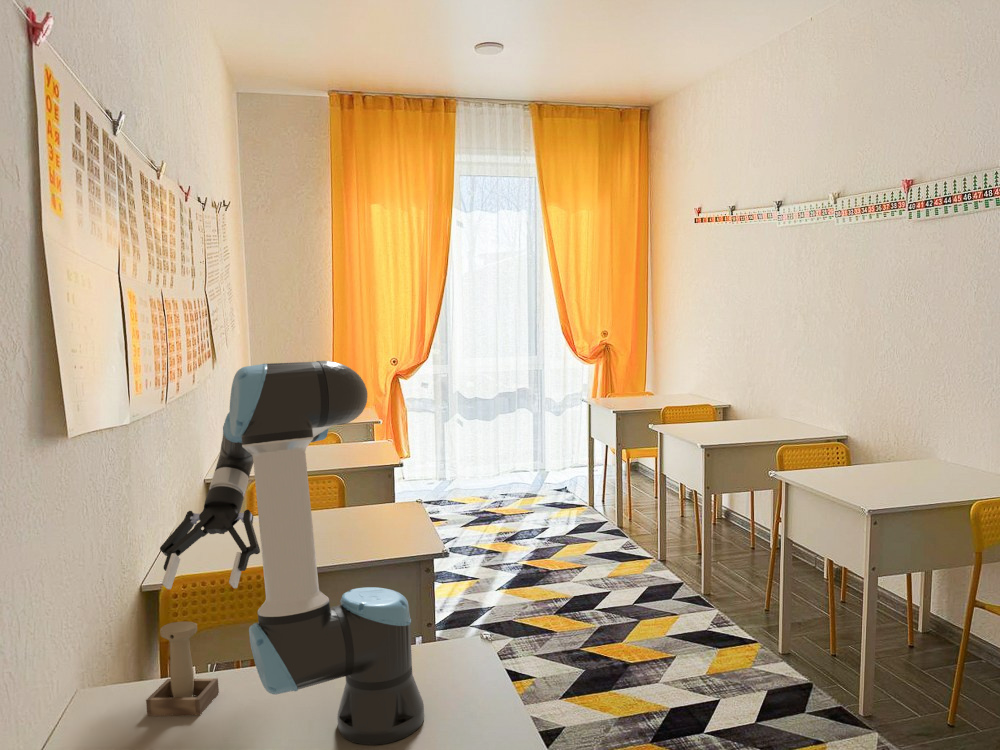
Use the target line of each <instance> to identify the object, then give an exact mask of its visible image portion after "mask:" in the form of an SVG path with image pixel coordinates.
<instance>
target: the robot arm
mask: <svg viewBox="0 0 1000 750" xmlns="http://www.w3.org/2000/svg"><path fill="white" fill-rule="evenodd" d="M229 398H230V399H229V412H228V413H227V414H226V417H225V419H224V423H223V426H222V439H221V440H222V441H221V444H220V445H221V446H220V452H219V456H218V460H217V463H216V466H215V469H214V471H213V475H212V478H211V482H210V484H209V489H208V492H207V494H206V498H205V501H204V503H203V509H202V511H201V513H195V512H193V511H192V510H188V511H187V512H186V514H185V516H184V519H183V520H182V521H181V523H179V524H178V526H177V527H176V528H175V529H174V531H172V533H171V534H170V535H169V536H168V538H167V539H166V540H165V541H164V542H163V544H161V545H160V547H159V550H160V552H161V553H163V555H164V556H165V557H166V558H165V562H164V565H163V570H164V571H165V572H164V576H163V579H162V582H161V585H162V586H163V587H165V588H166V590H171V589H172V587H173V585H174V584H173V583H174V581H175V577H176V574H177V571H178V568H179V565H180V562H181V558H180V557H179V556H181V555H182V554H183V553H184V552H185V551H187V550H188V549H189V548H190V547H191V546H193V545H195V543H196V542H197V541H198V540H200V539H201V538H203V537H206V536H207V535H208V534H209V535H215V534H219V535H224V534H225V533H227V532H229V535H231V537H232V539H233V540H234V542H235V543H236V544H237V546H238V548H239V549H240V551H237V552H236V553H235V558H234V561H233V565H232V569H231V573H230V577H229V581H228V583H229V585H230V586H231V587H232V588H233V589H238V586H239V583H240V579H241V575H242V572H244V571H246V570H247V567H248V563H249V559H250V557H251V556H252V555H259V554H260V553H261V558H262V569H263V578H264V589H265V590H264V591H265V601H264V602H263V604H261V606H260V607H259V608H258V610H257V620H258V621H257V622H254V623H253V624H251V625H250V626H249V627H248V633H249V644H250V648H251V652H252V657H253V660H254V664H255V667H256V670H257V674H258V677H259V679H260V682H261V684H262V686H263V687H264V688H263V689H264V690H265V691H266V692H267V693H268V694H271V695H281V694H284V693H290V692H298V691H299V690H301V689H304V688H308V687H309V688H310V687H313V686H316V685H319V684H324V683H326V682H330V681H333V680H337V679H341V678H344V677H345V685H344V688H343V689H344V690H343V692H342V697H341V700H340V704H339V707H338V710H337V729H338V732H339V733H340V735H341V736H342V737H343V738H344V739H346V740H347V741H349V742H352V743H356V744H360V745H371V746H372V745H384V744H390V743H393V742H396V741H400V740H402V739H405V738H407V737H409V736H410V735H412V734H413V733H414V732H416V731H417V730H418V729H420V727H421V726H422V725H423V722H424V719H425V705H424V700H423V697H422V695H421V692H420V689H419V688H418V685H417V682H416V680H415V677H414V675H413V660H412V659H413V658H412V656H413V655H412V633H411V632H412V631H411V623H412V618H411V615H410V605H409V602H408V600H407V598H406V597H405V596H404V595H403V594H401V593H400V592H399V591H397V590H393V589H389V588H385V587H384V588H383V587H378V586H377V587H375V586H374V587H373V586H372V587H371V586H367V587H356V588H352V589H349V590H348V591H346V592H344V593H343V594H342V595H341V599H340V604H339V605H334V606H331V605H330V598H329V597H328V596H327V595H325V593H323V592H322V591H321V590H320V586H319V577H318V575H319V574H318V568H317V567H318V566H317V556H316V547H315V546H316V545H315V537H314V535H315V534H314V527H313V526H314V525H313V516H312V507H311V506H312V505H311V496H310V486H309V477H308V476H309V475H308V465H307V455H306V450H307V448H308V446H309V445H310V444H311V443H315V442H319V441H323V440H325V439H326V438H327V437H328V433H329V429H330V428H332V427H333V426H342V425H346V424H348V423H351V422H353V421H354V420H356V419H357V418H359V416H361V414H362V413H363V412H364V411H365V409H366V405H367V403H368V388H367V386H366V383H365V381H364V380H363V378H362V377H361V375H359V374H358V373H357V372H356V371H355V370H353V368H351V367H349V366H348V365H345V364H342V363H340V362H335V361H328V360H316V361H302V362H301V361H297V362H278V363H277V362H276V363H275V362H274V363H273V362H271V363H261V364H253V365H248V366H242V367H241V368H239V369H238V370H236V373H235V374H234V376H233V379H232V383H231V391H230V397H229ZM252 469H253V472H254V482H255V484H254V485H255V494H256V503H257V504H256V505H257V515H258V525H259V527H258V528H259V536H260V546H261V549H260V546H259V543H258V538H257V535H256V532H255V529H254V525H253V523H254V515H253V514H252V512H251V511H250V509H245V510H244V511H243V512H241V509H242V506H243V502H244V499H245V498H244V497H245V494H246V492H247V491H246V490H247V487H248V484H249V480H250V475H251V472H252ZM239 521H241V522H242V523H243V525H244V529H245V532H246V537H247V539H248V543H249V546H247V545H246V544H245V542H244V541H243V539H242V537H241V536H240V535H239V533H238V532H237V530H236V528H235V527H234V526H235V525H236V524H237V523H238V522H239Z"/></svg>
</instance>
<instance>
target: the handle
mask: <svg viewBox="0 0 1000 750" xmlns="http://www.w3.org/2000/svg"><path fill="white" fill-rule="evenodd" d="M159 632H160V637H161V638H163V639H165V640H168V641H169V646H170V647H169V650H170V653H169V654H170V656H169V657H170V660H169V661H170V662H169V663H170V667H169V668H170V671H169V672H170V679H171V687H172V693H173V696H172V698H186V697H194V696H193V695H192V694H193V690H194V679H195V676H194V666H193V660H192V653H191V643H190V641H191V640H190V638H191V637H193V636H194V635H195V634H196V633H197V632H198V624H197V623H196V622H193V621H176V622H170V623H167V624H164V625H162V627H160V629H159Z"/></svg>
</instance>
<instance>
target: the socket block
mask: <svg viewBox="0 0 1000 750" xmlns="http://www.w3.org/2000/svg"><path fill="white" fill-rule="evenodd" d="M219 689H220V688H219V678H217V677H216V678H194V690H193V694H192V695H199V696H193V697H186V698H174V697H173V693H172V687H171V678H167V679H166V680H164V682H162V683H161V685H160V686H159V687H157V688H156V690H154V692H153V693H151V695H150V696H148V698H147V699H145V703H146V713H147V714H146V715H147V716H148V717H152V716H155V717H158V716H159V717H162V716H167V717H168V716H171V717H172V716H176V717H177V716H180V717H181V716H182V715H184V716H201V715H202V714H203V713H204V712H205V711H206V709H207V708H208V707H209V706H210V705H211V703H212V702H213V701H214V700H215V699H216V698H217V696H218V695H219V694H220V691H219ZM218 693H219V694H218ZM214 698H215V699H214ZM213 699H214V700H213ZM212 700H213V701H212ZM209 704H210V705H209ZM208 705H209V706H208ZM207 706H208V707H207ZM204 710H205V711H204ZM203 711H204V712H203ZM202 712H203V713H202ZM200 714H201V715H200Z"/></svg>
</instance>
